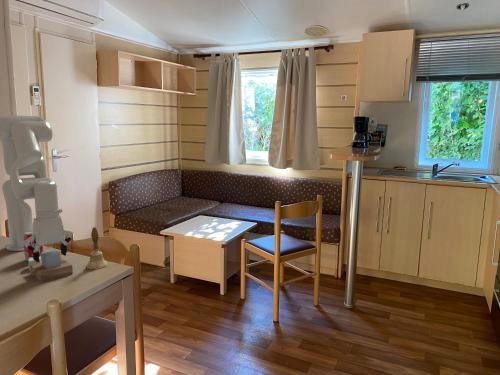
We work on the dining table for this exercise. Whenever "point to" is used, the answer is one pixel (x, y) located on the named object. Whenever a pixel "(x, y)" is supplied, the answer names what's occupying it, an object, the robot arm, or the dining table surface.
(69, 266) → the walnut block
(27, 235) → the soda can
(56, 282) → the dining table surface
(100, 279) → the dining table surface
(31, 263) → the white cube
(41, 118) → the robot arm
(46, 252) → the slate cube
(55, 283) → the dining table surface
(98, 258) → the hand bell
